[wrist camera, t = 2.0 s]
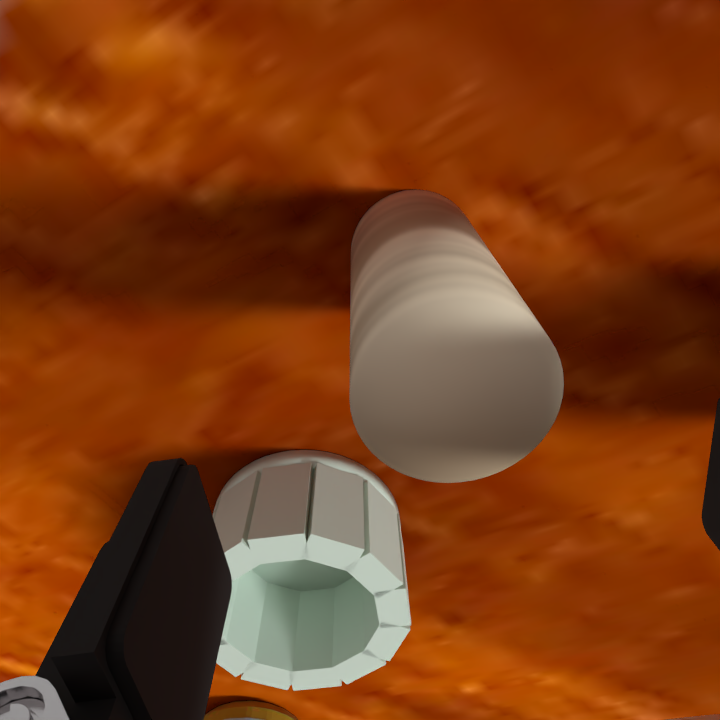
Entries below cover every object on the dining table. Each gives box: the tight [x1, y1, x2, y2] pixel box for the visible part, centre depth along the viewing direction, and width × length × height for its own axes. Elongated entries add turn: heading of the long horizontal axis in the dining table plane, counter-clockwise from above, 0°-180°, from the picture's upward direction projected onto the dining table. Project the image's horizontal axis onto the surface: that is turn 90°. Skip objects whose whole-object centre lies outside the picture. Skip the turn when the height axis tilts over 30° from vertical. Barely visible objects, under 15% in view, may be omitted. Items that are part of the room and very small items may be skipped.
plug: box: [350, 190, 564, 483], centre depth 17 cm, size 4×4×10 cm
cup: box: [212, 450, 411, 691], centre depth 25 cm, size 8×8×5 cm
